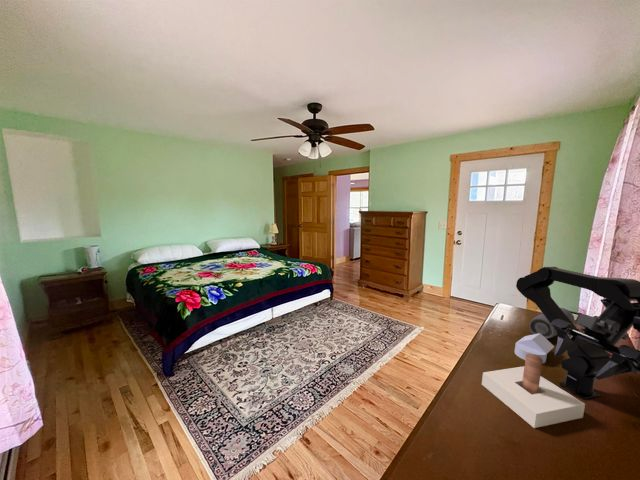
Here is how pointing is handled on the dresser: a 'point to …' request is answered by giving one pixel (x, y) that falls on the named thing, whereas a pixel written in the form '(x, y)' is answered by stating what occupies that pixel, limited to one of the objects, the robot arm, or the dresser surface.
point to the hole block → (533, 398)
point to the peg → (532, 373)
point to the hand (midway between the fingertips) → (574, 366)
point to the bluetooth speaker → (546, 324)
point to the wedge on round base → (533, 346)
